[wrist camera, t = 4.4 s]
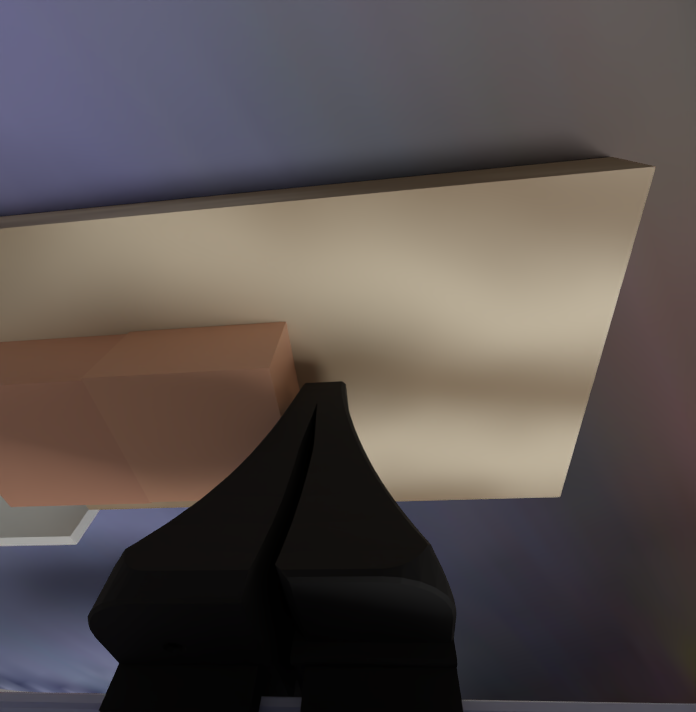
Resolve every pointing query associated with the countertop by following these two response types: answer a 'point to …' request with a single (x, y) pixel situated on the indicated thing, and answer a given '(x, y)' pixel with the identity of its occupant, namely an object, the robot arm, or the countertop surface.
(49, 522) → the tray
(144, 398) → the tile
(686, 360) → the countertop surface
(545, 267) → the beige flat slab
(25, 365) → the tile
